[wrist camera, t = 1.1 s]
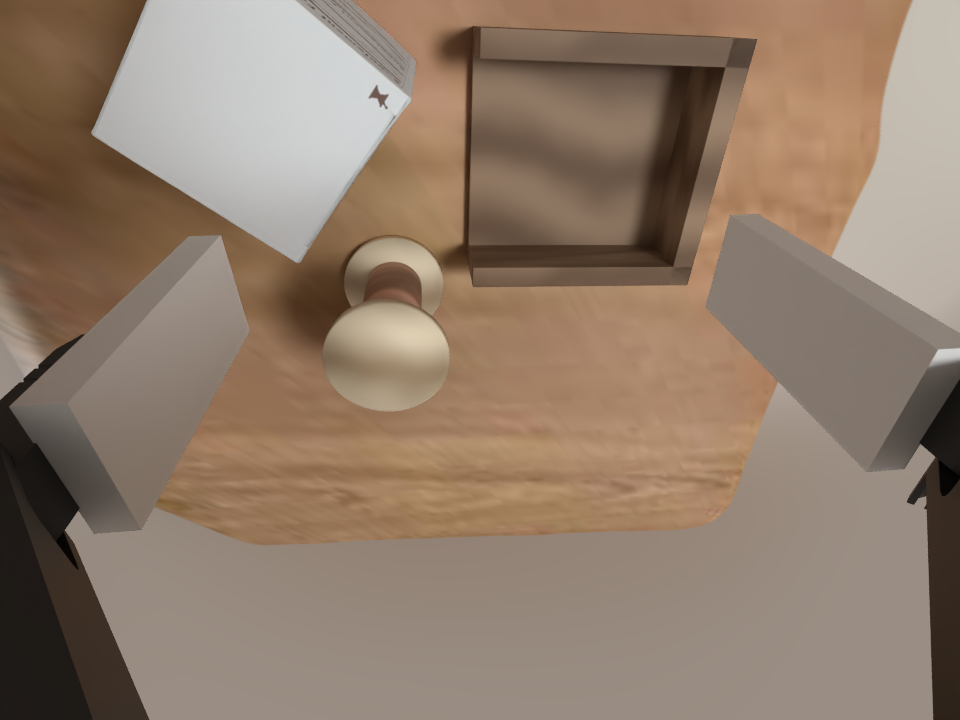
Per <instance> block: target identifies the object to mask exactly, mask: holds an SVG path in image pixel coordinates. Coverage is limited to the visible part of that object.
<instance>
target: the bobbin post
mask: <svg viewBox="0 0 960 720" xmlns="http://www.w3.org/2000/svg"><path fill="white" fill-rule="evenodd" d="M443 288H444V285H443V275H442V270H441V267H440V265H439V263H438V261H437V259H436V258H435V256H434V255H433V254H432V253H431V252H430V250H429V249H427V248H426V247H425V246H424V245H422V244H421V243H419V242H417V241H415V240H413V239H410V238H407V237H403V236H396V235H388V236H381V237H377V238H374V239H372V240H369V241H367V242H366V243H364V244H363V245H361V246H360V247H359V248H358V249H357V250H356V251H355V252H354V254H353V255H352V257H351V258H350V260H349V263H348V265H347V268H346V272H345V276H344V289H345V294H346V297H347V299H348V301H349V303H350V305H351V306H352V307H350V308H349V309H347V310H346V311H344V312H343V313H342V314H341V315H340V316H338V318H337V319H336V320H335V321H334V322H333V324H332V325H331V327H330V329H329V331H328V333H327V336H326V339H325V343H324V347H323V352H322V362H323V367H324V371H325V374H326V376H327V378H328V380H329V381H330V383H331V384H332V386H333V387H334V388H335V389H336V390H337V391H338V392H339V393H340V394H341V395H342V396H343V397H345V398H346V399H348V400H349V401H351V402H353V403H355V404H357V405H359V406H362V407H365V408H368V409H372V410H378V411H399V410H404V409H408V408H412V407H415V406H417V405H419V404H421V403H423V402H425V401H427V400H428V399H429V398H431V397H432V396H433V395H434V394H435V393H436V392H437V391H438V390H439V389H440V388H441V386H442V385H443V383H444V382H445V380H446V377H447V375H448V371H449V366H450V355H449V345H448V341H447V337H446V335H445V332H444V331H443V329H442V327H441V326H440V325H439V323H438V322H437V321H436V320H435V319H434V318H433V317H432V316H431V315H432V314H433V313H434V312H435V311H436V309H437V308H438V306H439V304H440V302H441V299H442V296H443Z"/></svg>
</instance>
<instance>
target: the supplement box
mask: <svg viewBox="0 0 960 720" xmlns="http://www.w3.org/2000/svg"><path fill="white" fill-rule="evenodd" d="M415 69H416V60H415V59H414V58H413V57H412V56H411V55H410V54H409V53H408V52H407V51H406V50H405V49H404V48H403V47H402V46H401V45H400V44H399V43H398V42H397V41H396V40H395V39H393V38H392V37H391V36H390V35H389V34H388V33H387V32H386V31H385V30H384V29H383V28H382V27H381V26H380V25H378V24H377V23H376V22H375V21H374V20H373V19H372V18H371V17H370V16H369V15H368V14H366V13H365V12H364V11H363V10H362V9H361V8H360V7H359V6H358V5H357V4H356V3H354V2H353V1H352V0H147V1H146V3H145V6H144V8H143V11H142V13H141V16H140V18H139V21H138V23H137V26H136V28H135V30H134V33H133V35H132V38H131V40H130V42H129V45H128V47H127V50H126V52H125V54H124V57H123V59H122V61H121V64H120V66H119V69H118V71H117V73H116V76H115V78H114V81H113V83H112V86H111V88H110V90H109V93H108V95H107V98H106V100H105V102H104V105H103V107H102V110H101V112H100V114H99V117H98V119H97V122H96V124H95V126H94V128H93V130H92V132H91V133H92V135H93V136H94V137H96V138H97V139H99V140H100V141H102V142H104V143H105V144H107V145H108V146H110V147H111V148H113V149H114V150H116V151H118V152H119V153H121V154H122V155H124V156H126V157H127V158H129V159H130V160H132V161H133V162H135V163H137V164H138V165H140V166H141V167H143V168H145V169H146V170H148V171H150V172H151V173H153V174H154V175H156V176H158V177H159V178H161V179H163V180H164V181H166V182H168V183H169V184H171V185H172V186H174V187H176V188H177V189H179V190H180V191H182V192H184V193H185V194H187V195H188V196H190V197H192V198H193V199H195V200H196V201H198V202H200V203H201V204H203V205H204V206H206V207H208V208H209V209H211V210H212V211H214V212H216V213H217V214H219V215H220V216H222V217H224V218H225V219H227V220H228V221H230V222H231V223H233V224H235V225H236V226H238V227H239V228H241V229H243V230H244V231H246V232H247V233H249V234H251V235H252V236H254V237H255V238H257V239H259V240H260V241H262V242H264V243H265V244H267V245H268V246H270V247H272V248H273V249H275V250H277V251H278V252H280V253H282V254H283V255H285V256H286V257H288V258H289V259H291V260H293V261H294V262H296V263H300V262H301V261H302V259H303V257H304V256H305V254H306V252H307V251H308V249H309V248H310V246H311V245H312V243H313V242H314V240H315V238H316V237H317V235H318V234H319V233H320V231H321V230H322V228H323V227H324V225H325V224H326V222H327V221H328V219H329V218H330V216H331V215H332V213H333V212H334V210H335V209H336V207H337V206H338V204H339V203H340V201H341V200H342V199H343V197H344V196H345V194H346V193H347V191H348V190H349V188H350V187H351V185H352V184H353V183H354V181H355V180H356V178H357V177H358V175H359V174H360V172H361V171H362V169H363V168H364V166H365V165H366V163H367V162H368V161H369V159H370V158H371V156H372V155H373V153H374V152H375V150H376V149H377V147H378V146H379V144H380V143H381V141H382V140H383V139H384V137H385V136H386V134H387V133H388V131H389V130H390V128H391V127H392V126H393V124H394V123H395V121H396V120H397V118H398V117H399V116H400V114H401V113H402V112H403V110H404V109H405V108H406V107H407V106H408V104H409V103H410V102H411V99H412V91H413V83H414V75H415Z"/></svg>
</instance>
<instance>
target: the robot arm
mask: <svg viewBox="0 0 960 720" xmlns="http://www.w3.org/2000/svg"><path fill="white" fill-rule="evenodd" d="M706 308H707V309H708V310H709V311H710V312H711V313H712V314H713V315H714V316H715V317H716V318H717V319H718V320H719V321H720V322H721V323H722V324H723V325H724V326H725V327H726V328H727V329H728V331H729V332H730V333H731V334H732V335H733V336H734V337H735V338H736V339H737V340H738V341H739V342H740V343H741V344H742V345H743V346H744V347H745V348H746V349H747V350H748V351H749V352H750V353H751V354H752V355H753V356H754V357H755V358H756V359H757V360H758V361H759V362H760V363H761V364H762V365H763V366H764V367H765V368H766V370H767V371H768V372H769V373H770V374H771V375H772V376H773V377H774V378H775V379H776V380H777V381H778V382H779V383H780V384H781V385H782V386H783V387H784V388H785V389H786V390H787V391H788V392H789V393H790V394H791V395H792V396H793V397H794V398H795V399H796V400H797V401H798V402H799V403H800V404H801V405H802V406H803V407H804V409H805V410H806V411H807V412H809V414H810V415H811V416H812V417H813V418H814V419H815V420H816V421H817V422H818V423H819V424H820V425H821V426H822V427H823V428H824V429H825V430H826V431H827V432H828V433H829V434H830V435H831V436H832V437H833V438H834V439H835V440H836V441H837V442H838V443H839V444H840V445H841V446H842V447H843V449H844V450H846V452H847V453H848V454H850V456H851V457H852V458H853V459H854V460H855V461H856V462H857V463H858V464H859V465H860V466H861V467H862V468H863V469H864V470H865V471H866V472H873V471H886V470H898V469H905V467H906V466H907V464H908V462H909V461H910V459H911V458H912V456H913V455H914V453H915V452H916V450H917V448H918V447H919V445H920V444H921V445H922V446H924V447H925V448H926V449H927V450H928V451H929V452H931V453H932V454H933V455H934V456H935V459H934V461H933V462H932V463H931V465H930V466H929V468H928V469H927V471H926V472H925V473H924V475H923V477H922V478H921V479H920V481H919V483H918V484H917V486H916V487H915V488H914V490H913V491H912V493H911V494H910V496H909V498H908V500H907V502H908V503H910V504H915V502H916V501H917V499H918V498H921V497H925V496H926V498H927V505H926V506H925V508H924V509H927V530H928V563H929V591H930V592H929V595H930V626H931V658H932V690H933V720H960V333H959V332H957V331H955V330H953V329H952V328H950V327H948V326H947V325H945V324H943V323H942V322H940V321H938V320H937V319H935V318H933V317H931V316H930V315H928V314H926V313H925V312H923V311H921V310H919V309H918V308H916V307H915V306H913V305H911V304H909V303H908V302H906V301H904V300H903V299H901V298H899V297H898V296H896V295H894V294H893V293H891V292H889V291H887V290H886V289H884V288H882V287H881V286H879V285H877V284H875V283H874V282H872V281H871V280H869V279H867V278H865V277H864V276H862V275H860V274H859V273H857V272H855V271H853V270H852V269H850V268H848V267H846V266H845V265H843V264H842V263H840V262H838V261H837V260H835V259H833V258H832V257H830V256H828V255H826V254H825V253H823V252H821V251H820V250H818V249H816V248H815V247H813V246H811V245H810V244H808V243H806V242H804V241H803V240H801V239H799V238H798V237H796V236H794V235H793V234H791V233H789V232H787V231H786V230H784V229H782V228H781V227H779V226H777V225H776V224H774V223H772V222H771V221H769V220H767V219H765V218H764V217H762V216H760V215H759V214H745V215H730V218H729V222H728V226H727V229H726V233H725V237H724V240H723V244H722V248H721V251H720V255H719V259H718V263H717V266H716V270H715V274H714V277H713V281H712V285H711V289H710V292H709V296H708V300H707V303H706ZM248 333H249V327H248V324H247V321H246V317H245V314H244V311H243V307H242V304H241V301H240V297H239V294H238V291H237V287H236V284H235V281H234V277H233V274H232V271H231V267H230V264H229V261H228V257H227V254H226V251H225V247H224V244H223V241H222V238H221V235H211V236H188V237H187V238H186V239H185V240H184V241H183V242H182V243H181V244H180V245H179V246H178V247H177V248H176V249H175V250H174V251H173V252H172V253H171V254H169V255H168V256H167V257H166V258H165V259H164V260H163V261H162V262H161V263H160V264H159V265H158V266H157V267H156V268H155V269H154V270H153V271H152V272H151V273H149V274H148V275H147V276H146V277H145V278H144V279H143V280H142V281H141V282H140V283H139V284H138V285H137V286H136V287H135V288H134V289H133V290H132V291H130V292H129V293H128V294H127V295H126V296H125V297H124V298H123V299H122V300H121V301H120V302H119V303H118V304H117V305H116V306H115V307H114V308H113V309H111V310H110V311H109V312H108V313H107V314H106V315H105V316H104V317H103V318H102V319H101V320H100V321H99V322H98V323H97V324H96V325H95V326H94V327H93V328H91V329H90V330H89V331H88V332H87V333H86V334H83V335H81V336H79V337H77V338H75V339H73V340H72V341H70V342H68V343H66V344H64V345H63V346H61V347H59V348H57V349H56V350H55V351H53V352H52V353H51V354H50V355H49V356H48V357H47V358H46V359H45V360H44V361H42V362H41V363H40V364H39V365H38V366H39V368H38V369H34V370H33V371H32V372H30V373H29V374H28V375H27V376H26V377H25V378H24V382H21V383H19V384H18V385H16V386H15V387H14V388H13V389H12V390H11V391H10V392H9V393H8V394H6V395H5V396H4V397H3V398H2V399H1V400H0V720H149V718H148V716H147V713H146V711H145V709H144V707H143V704H142V702H141V699H140V697H139V694H138V692H137V690H136V688H135V685H134V683H133V681H132V678H131V676H130V673H129V671H128V669H127V666H126V664H125V662H124V659H123V657H122V655H121V652H120V650H119V648H118V645H117V643H116V641H115V638H114V636H113V633H112V631H111V629H110V626H109V624H108V622H107V619H106V617H105V615H104V613H103V610H102V608H101V605H100V603H99V601H98V598H97V596H96V594H95V591H94V589H93V587H92V584H91V582H90V580H89V577H88V575H87V573H86V570H85V568H84V565H83V563H82V561H81V558H80V556H79V554H78V551H77V549H76V547H75V544H74V543H73V541H72V540H71V539H70V537H69V536H68V534H67V533H66V531H65V529H66V527H67V526H68V525H69V523H70V522H71V520H72V519H73V517H74V516H75V514H76V513H77V511H79V512H80V513H81V515H82V516H83V518H84V519H85V521H86V522H87V524H88V525H89V527H90V528H91V530H92V531H93V533H94V534H97V533H110V532H122V531H134V530H142V528H143V526H144V524H145V522H146V521H147V519H148V517H149V515H150V513H151V511H152V510H153V508H154V506H155V504H156V502H157V500H158V499H159V497H160V495H161V493H162V491H163V489H164V488H165V486H166V484H167V482H168V480H169V478H170V477H171V475H172V473H173V471H174V469H175V467H176V466H177V464H178V462H179V460H180V458H181V456H182V455H183V453H184V451H185V449H186V447H187V445H188V443H189V442H190V440H191V438H192V436H193V434H194V432H195V431H196V429H197V427H198V425H199V423H200V421H201V420H202V418H203V416H204V414H205V412H206V410H207V409H208V407H209V405H210V403H211V401H212V399H213V398H214V396H215V394H216V392H217V390H218V388H219V387H220V385H221V383H222V381H223V379H224V377H225V376H226V374H227V372H228V370H229V368H230V366H231V365H232V363H233V361H234V359H235V357H236V355H237V353H238V352H239V350H240V348H241V346H242V344H243V342H244V341H245V339H246V337H247V335H248Z"/></svg>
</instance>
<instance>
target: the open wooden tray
mask: <svg viewBox="0 0 960 720" xmlns="http://www.w3.org/2000/svg"><path fill="white" fill-rule="evenodd" d="M756 42H757V39H747V38H731V37H715V36H692V35H668V34H644V33H621V32H597V31H573V30H549V29H525V28H502V27H478V26H473V50H472V92H471V134H470V175H469V217H468V264H469V269H470V274H471V280H472V285H473V287H533V286H643V285H687V284H688V281H689V277H690V274H691V270H692V266H693V263H694V259H695V256H696V252H697V249H698V245H699V242H700V238H701V235H702V231H703V228H704V224H705V221H706V217H707V214H708V210H709V207H710V203H711V200H712V196H713V193H714V189H715V186H716V182H717V179H718V175H719V172H720V168H721V165H722V161H723V158H724V154H725V151H726V147H727V144H728V140H729V136H730V133H731V129H732V126H733V122H734V119H735V115H736V112H737V108H738V105H739V101H740V98H741V94H742V91H743V87H744V84H745V80H746V77H747V73H748V70H749V66H750V63H751V59H752V56H753V52H754V49H755V45H756Z"/></svg>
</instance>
